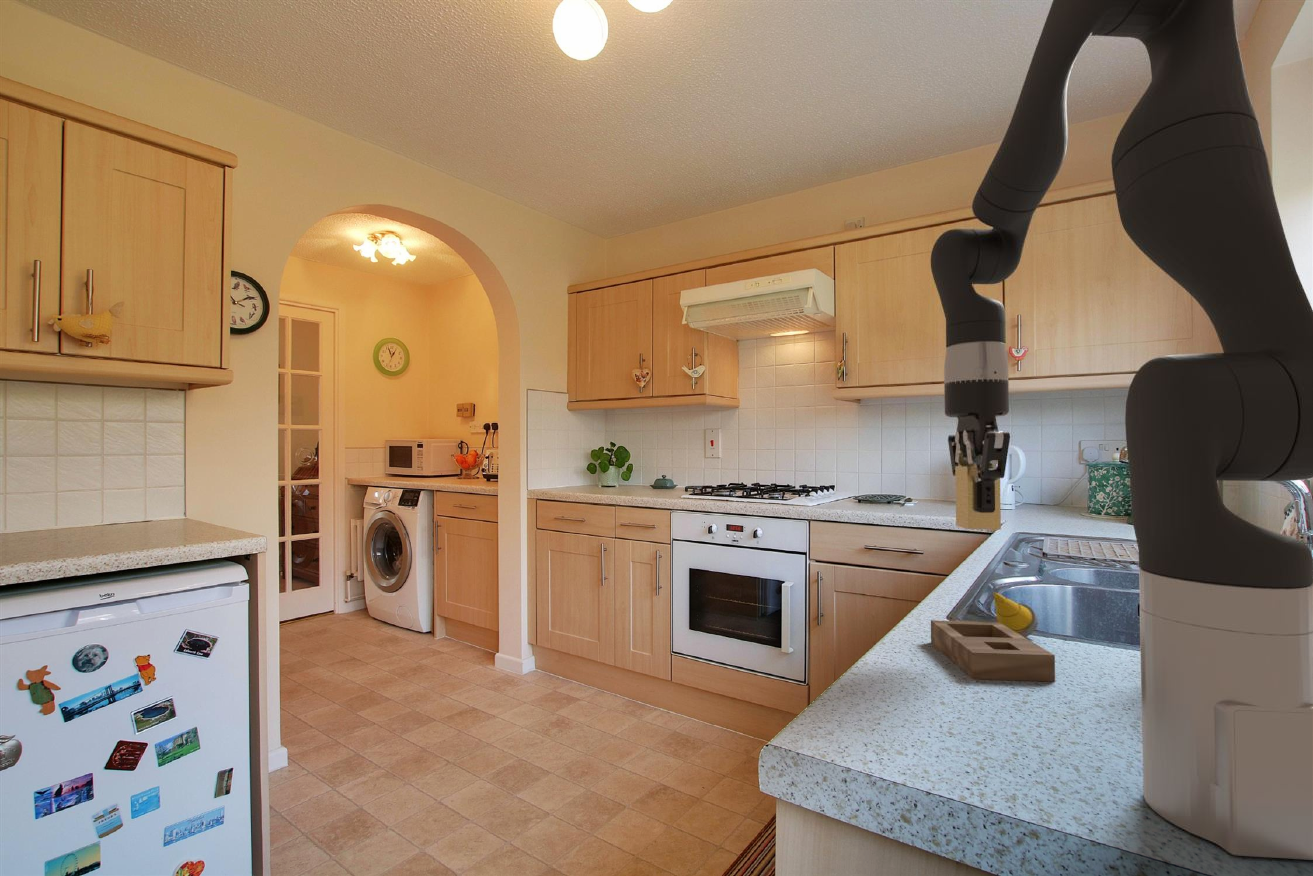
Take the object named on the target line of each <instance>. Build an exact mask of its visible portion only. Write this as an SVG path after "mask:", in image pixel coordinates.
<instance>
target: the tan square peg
mask: <svg viewBox="0 0 1313 876" xmlns="http://www.w3.org/2000/svg"><path fill="white" fill-rule="evenodd" d="M980 467H981V466H980ZM989 468H990V467H989ZM954 477H955V478H954V479H955V526H956V527H959V528H963V529H966V530H990V531H991V530H994V531H995V530H997V531H998V530H1000V531H1001V530H1002V525H1001V524H1002V521H1001V520H1002V519H1001V517H1002V516H1001V515H1002V514H1001V509H1002V508H1001V507H1002V505H1001V478H998V481H997V483H995V511H994V512H992V513H980V512H977V511H976V510H975V483H976V482H975V480H974V467H972V466H955V476H954Z"/></svg>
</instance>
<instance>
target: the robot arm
mask: <svg viewBox="0 0 1313 876" xmlns="http://www.w3.org/2000/svg"><path fill="white" fill-rule="evenodd" d="M1237 33H1238V32H1237V28H1236V20H1235V8H1234V0H1052V3H1051V5H1050V8H1049V10H1048V14H1047V16H1046V19H1045V22H1044V25H1043V27H1042V30H1041V33H1040V36H1039V39H1038V40H1037V41H1038V42H1037V44H1036V47H1035V50H1034V52H1033V56H1032V58H1031V60H1030V61H1031V62H1030V64H1029V67H1028V70H1027V73H1026V76H1025V79H1024V82H1023V84H1022V88H1021V90H1020V93H1019V97H1018V100H1017V103H1016V106H1015V109H1014V112H1013V113H1012V114H1013V115H1012V116H1011V119H1010V122H1009V125H1008V127H1007V129H1006V133H1005V135H1004V137H1003V139H1002V141H1001V143H1000V146H999V148H998V149H997V151H996V154H995V155H994V157H993V159H992V161H991V163H990V165H989V167H988V169H987V171H986V173H985V175H984V177H983V179H982V180H981V183H980V185H979V186H978V188H977V191H976V193H975V195H974V197H973V199H972V204H971V210H972V213H973V215H974V217H975V218H976V219H977V220H978V221H979V222H980V223H983V224H984V225H986V226H989V227H990V228H991V229H989V228H988V229H986V228H984V229H983V228H953V229H948V230H946V231H944V232H943V233H942V234H941V235H940V236H939V237H938V238H936V240H935V242H934V244H933V247H932V249H931V250H932V251H931V253H930V269H931V274H932V279H933V281H934V284H935V286H936V287H935V288H936V290H937V293H938V296H939V299H940V303H941V306H942V310H943V314H944V317H945V355H944V368H943V374H944V375H943V378H944V379H943V383H944V387H943V388H944V414H945V416H946V417H948V418H957V426H956V431H955V434H949V435H948V437H947V443H948V444H947V445H948V451H949V456H950V457H949V458H950V464H951V472H952V476H953V477H955V466H972V467H974V480H975V482H976V483H975V510H976V511H977V512H980V513H992V512H994V511H995V483H997V481H998V478H1000V479H1004V477H1005V474H1006V468H1007V461H1008V455H1009V446H1010V440H1011V434H1010V431H999V427H998V422H997V418H996V417H1003V416H1004V417H1005V416H1007V415H1008V414H1009V412H1010V403H1009V402H1010V399H1009V398H1010V397H1009V396H1010V395H1009V394H1010V393H1009V392H1010V391H1009V389H1010V388H1009V387H1010V386H1009V359H1008V357H1009V356H1008V354H1007V353H1008V352H1007V346H1006V344H1007V343H1006V309H1005V306H1004V304H1003V303H1002V302H1000V301H999V300H997V299H993V298H989V297H987V296H986V297H985V296H984V295H981V294H979V293H978V292H977V290H975V287H974V286H973V285H995V284H996V285H997V284H999V283H1002V282H1004V281H1005V280H1007V279H1008V278H1009V277H1010V276H1011V275H1013V274H1014V272H1015V271H1016V270H1017V268H1018V266H1019V264H1020V262H1021V258H1022V255H1023V250H1024V246H1025V242H1026V238H1027V236H1028V231H1029V229H1030V225H1031V222H1032V219H1033V216H1034V213H1035V212H1036V210H1037V209H1038V207H1039V205H1040V204H1041V202H1042V200H1043V199H1044V198H1045V196H1046V194H1047V192H1048V190H1049V189H1050V188H1051V185H1052V184H1053V182H1054V181H1055V179H1056V178H1057V176H1058V174H1059V172H1060V170H1061V168H1062V165H1063V163H1064V160H1065V157H1066V153H1067V147H1068V139H1069V138H1068V115H1067V114H1068V112H1067V97H1068V96H1067V95H1068V94H1067V93H1068V85H1069V81H1070V80H1069V79H1070V75H1071V71H1072V69H1073V66H1074V64H1075V62H1076V60H1077V59H1078V56H1079V54H1080V52H1081V51H1082V49H1083V47H1084V46H1085V44H1086V43H1087V41H1088V39H1089V38H1090V37H1091V36H1093V37H1095V36H1096V37H1113V38H1132V39H1136V40H1138V41H1140V42H1141V43H1142V44H1143V45H1144V46H1145V48H1146V51H1147V54H1148V59H1149V63H1150V73H1151V81H1150V83H1149V85H1148V87H1147V89H1146V90H1145V92H1144V93H1143V94H1142V96H1141V97H1140V98H1139V100H1138V102H1136V105H1135V106H1134V108H1133V110H1132V111H1131V112H1130V114H1129V116H1128V117H1127V119H1126V121H1124V122H1125V123H1124V124H1123V126H1122V128H1121V129H1120V131H1119V133H1118V135H1117V137H1116V140H1115V142H1114V146H1113V149H1112V153H1111V160H1110V161H1111V171H1112V172H1111V173H1112V180H1113V186H1114V191H1115V192H1114V193H1115V197H1116V198H1115V199H1116V202H1117V203H1116V205H1117V209H1118V215H1119V218H1120V222H1121V225H1122V227H1123V230H1124V232H1125V233H1126V234H1127V236H1128V237H1129V239H1131V241H1132V242H1133V243H1134V245H1136V247H1137V248H1138V249H1139V250H1140V251H1141V252H1142V253H1143V254H1144V255H1145V256H1146V257H1147V258H1148V259H1149V260H1150V261H1152V263H1154V264H1155V265H1156V266H1157V267H1158V268H1159V269H1161V270H1162V271H1163V272H1164V273H1165V274H1167V276H1169V277H1170V278H1171V279H1172V280H1174V281H1175V282H1176V283H1178V285H1180V287H1182V288H1183V289H1184V290H1185V291H1186V292H1187V293H1188V295H1190V296H1191V297H1192V298H1193V299H1194V300H1195V301H1196V302H1197V303H1198V305H1199V306H1200V307H1201V308H1202V309H1203V311H1204V312H1205V314H1206V315H1207V317H1208V318H1209V320H1210V322H1211V324H1212V326H1213V328H1214V330H1215V332H1216V334H1217V337H1218V340H1219V342H1220V345H1221V348H1222V351H1223V352H1211V353H1209V352H1208V353H1185V354H1184V353H1183V354H1182V353H1181V354H1168V355H1163V356H1158V357H1155V358H1154V357H1153V358H1152V359H1150V360H1148V361H1147V362H1145V363H1144V364H1143V365H1142V366H1141V367H1140V368H1139V369H1138V370H1137V371H1136V373H1135V374H1134V376H1133V378H1132V380H1131V382H1130V385H1129V388H1128V392H1127V398H1126V402H1125V417H1124V422H1125V423H1124V424H1125V441H1126V449H1127V451H1126V453H1127V461H1128V470H1129V471H1128V473H1129V485H1130V499H1131V501H1130V502H1131V505H1130V506H1131V518H1132V519H1131V520H1132V525H1133V530H1134V534H1135V539H1136V544H1137V549H1138V566H1139V568H1138V574H1139V575H1138V577H1139V579H1138V581H1139V584H1138V585H1139V588H1138V589H1139V645H1140V646H1139V647H1140V648H1139V649H1140V652H1139V653H1140V655H1139V656H1140V695H1141V696H1140V700H1141V701H1140V702H1141V706H1140V708H1141V709H1140V710H1141V744H1142V745H1141V746H1142V748H1141V749H1142V788H1143V789H1142V791H1143V795H1142V796H1143V798H1144V800H1145V802H1146V804H1147V805H1148V806H1149V807H1150V808H1151V810H1153V811H1154V812H1155V813H1157V814H1158V815H1159V816H1160V817H1161V818H1163V819H1164V820H1167V821H1168V822H1170V823H1171V824H1173V825H1174V826H1177V827H1179V828H1180V829H1182V830H1184V831H1187V832H1188V833H1189V834H1193V835H1195V836H1197V837H1200V838H1202V839H1204V840H1207V841H1210V842H1212V843H1214V844H1216V845H1217V846H1219V847H1220V848H1222V849H1224V850H1225V852H1228V853H1229V854H1231V855H1233V856H1240V857H1241V856H1242V857H1259V858H1260V857H1261V858H1273V859H1275V858H1276V859H1289V860H1290V859H1292V860H1309V861H1313V556H1312V552H1311V549H1310V548H1309V546H1308V544H1306V543H1305V542H1303V541H1302V540H1301V539H1298V538H1296V537H1293V536H1290V535H1287V534H1284V533H1280V532H1277V531H1274V530H1271V529H1268V528H1264V527H1262V526H1258V525H1255V524H1254V523H1252V522H1249V521H1247V520H1245V519H1244V518H1241V517H1240V516H1238V515H1237V514H1236V513H1234V512H1232V511H1231V510H1229V508H1227V507H1226V505H1225V504H1224V503H1223V500H1222V498H1221V494H1220V490H1219V485H1218V481H1222V482H1223V481H1225V482H1229V481H1231V482H1232V481H1233V482H1234V481H1237V482H1238V481H1239V482H1240V481H1242V482H1246V481H1247V482H1248V481H1249V482H1250V481H1254V482H1286V481H1287V482H1289V481H1290V482H1291V481H1301V480H1309V479H1311V478H1313V308H1312V306H1311V303H1310V300H1309V298H1308V296H1307V294H1306V291H1305V289H1304V287H1303V284H1302V282H1301V280H1300V275H1298V272H1297V269H1296V266H1295V263H1294V260H1293V256H1292V253H1291V250H1290V247H1289V244H1288V241H1287V238H1286V234H1285V231H1284V227H1283V223H1282V218H1281V214H1280V212H1279V208H1278V204H1277V200H1276V196H1275V191H1274V187H1273V186H1274V185H1273V182H1272V177H1271V171H1270V165H1269V160H1268V156H1267V152H1266V148H1265V144H1264V140H1263V137H1262V133H1261V128H1260V124H1259V120H1258V118H1257V116H1256V113H1255V109H1254V107H1253V103H1252V100H1251V97H1250V92H1249V89H1248V83H1247V80H1246V79H1247V78H1246V74H1245V68H1244V64H1243V59H1242V53H1241V49H1240V48H1241V47H1240V45H1239V39H1238V34H1237ZM980 466H981V467H980ZM989 467H990V468H989Z"/></svg>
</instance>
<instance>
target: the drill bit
mask: <svg viewBox="0 0 1313 876" xmlns="http://www.w3.org/2000/svg"><path fill="white" fill-rule="evenodd" d="M993 599H994V605H995V613H996V616H995V621H994V622H999V623H1001V624H1003V625H1004V626H1006V627H1008V628H1009V629H1011V630H1013V631H1015V632H1016V633H1018V634H1020V635H1021V636H1023V637H1025V638H1028V637H1029V636H1031V635H1032V634H1033V633H1034V632H1035V631H1036V629H1037V627H1038V625H1039V619H1038V617H1037V616H1038V615H1037V614H1036V613H1035V611H1034V610H1033V609H1032V608H1031V607H1030V606H1028V605H1027V604H1024V603H1017V602H1015V601H1013V600H1012V599H1010V598H1008V597H1005V596H1004V595H1002V594H1000V593H998V592H995V591H994V592H993Z"/></svg>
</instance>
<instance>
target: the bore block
mask: <svg viewBox="0 0 1313 876" xmlns="http://www.w3.org/2000/svg"><path fill="white" fill-rule="evenodd" d="M930 643H931V644H932V643H933V644H932V645H933V646H935V648H937V649H938V650H939V651H941V653H943V654H944V655H945V656H946V657H947V658H949V659H950V660H951V661H952V662H953V663H954V664H955V665H957V667H959V668H960V669H961V670H962V671H964V673H966V674H967V675H968V676H969V677H970V678H971V679H974V680H975V679H976V680H997V681H998V680H1000V681H1001V680H1002V681H1023V682H1025V681H1028V682H1053V683H1054V682H1056V660H1055V659H1056V658H1055V657H1056V655H1055V654H1053V653H1052V652H1050V651H1048V650H1047V649H1045V648H1043V647H1041V646H1040V645H1038V644H1037V643H1034V641H1031V640H1029V639H1028V638H1027V637H1023V636H1021V635H1020V634H1018V633H1016V632H1015V631H1013V630H1011V629H1009V628H1008V627H1006V626H1004V625H1003V624H1001V623H999V622H995V621H969V620H968V621H967V620H935V619H934V620H933V619H931V620H930Z"/></svg>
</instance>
